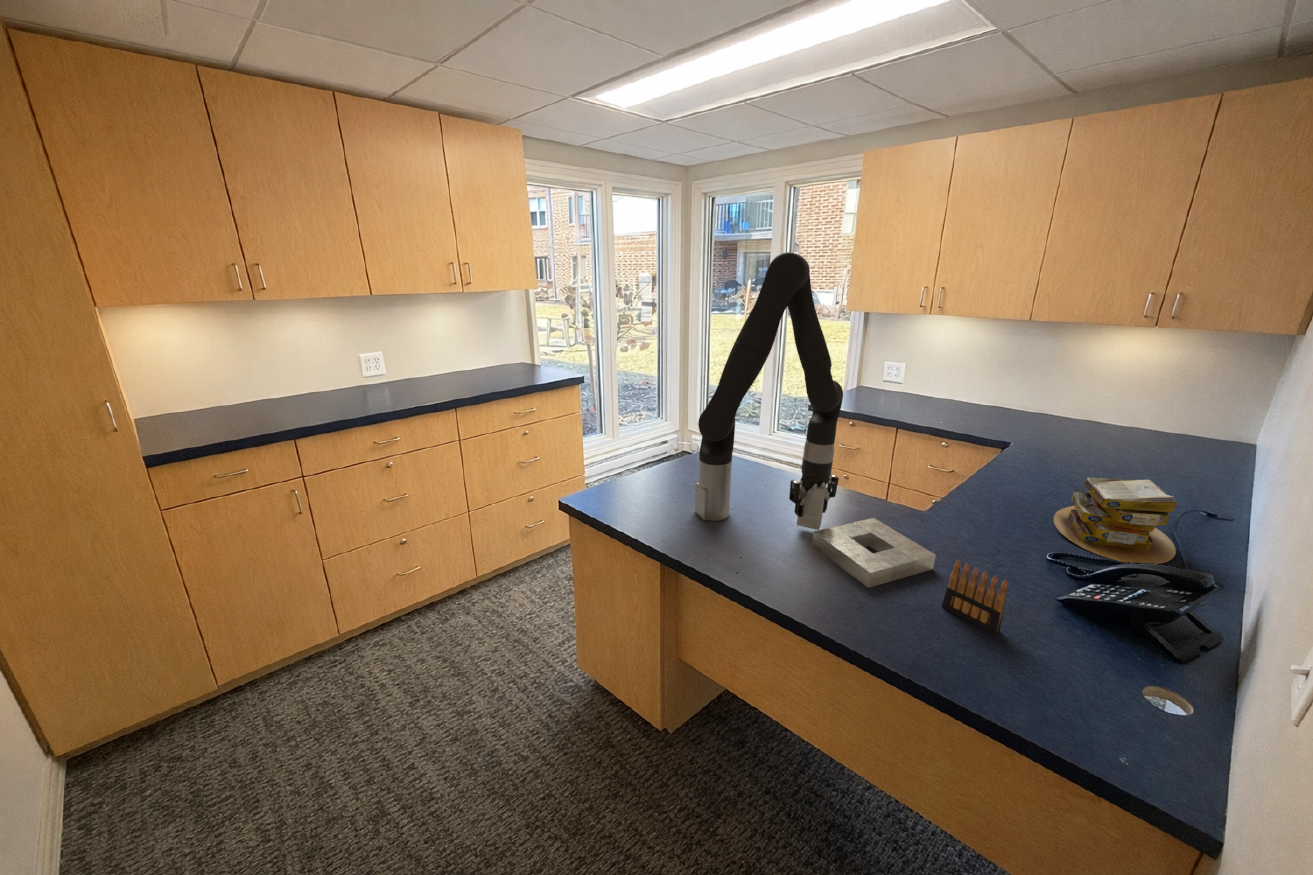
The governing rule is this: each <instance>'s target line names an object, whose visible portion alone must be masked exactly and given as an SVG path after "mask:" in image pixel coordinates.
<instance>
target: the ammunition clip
mask: <svg viewBox="0 0 1313 875" xmlns="http://www.w3.org/2000/svg"><path fill="white" fill-rule="evenodd" d="M952 568H953V569H952V571H951V574H950V577H949V580H948V581H949V582H948V584H947V585H948V586H947V587H946V590H945V593H944V597H943V600H942V604H941V607H942V608H943V609H945V610H946V611H949V612H950V611H951V612H950V613H952V614H954V615H956V616H958V617H960V618H962V619H964V620H966V619H967V620H966V621H969V622H970V623H972V624H974V625H976V626H978V625H979V626H978V627H980V628H982V629H983V630H985V629H986V631H988V632H989V633H991V632H992V633H991V634H993V633H994V634H993V635H997V634H998V633H999V632H1000V631H1001V625H1002V620H1003V616H1004V609H1005V605H1006V600H1007V592H1008V584H1009V583H1008V580H1007V579H1004V580H1003V581H1002V583H1001V585H1000V587H999V590H998V593H997V586H998V576H997V575H996V574H995V575H994V576H992V579H991V580H990V582H989V586H988V589H987V584H988V578H989V577H988V571H986V570H984V571H983V573H982V574H981V576H980V579H979V568H978V567H977V566H975V567H974V569H973V571H972V572H971V575H970V579H969V573H970V564H969V563H968V562H966V563H965V565H964V567H963V569H962V571H961V560H960V559H957V560H956V561H955V562H954V565H953V567H952ZM960 571H961V574H960ZM978 579H979V583H978Z"/></svg>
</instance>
